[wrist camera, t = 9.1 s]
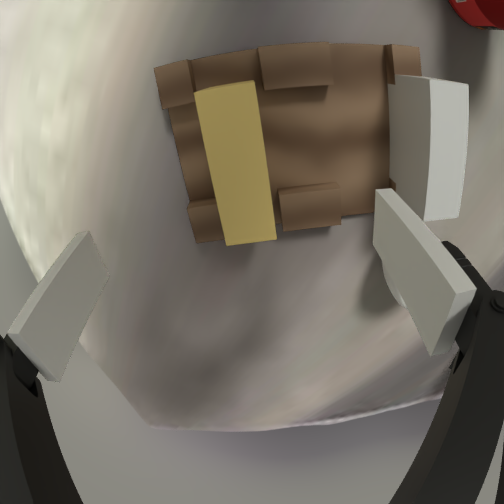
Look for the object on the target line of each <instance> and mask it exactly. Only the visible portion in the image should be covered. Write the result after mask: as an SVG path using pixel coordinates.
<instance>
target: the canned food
mask: <svg viewBox="0 0 504 504" xmlns="http://www.w3.org/2000/svg"><path fill="white" fill-rule="evenodd" d="M449 2H450V4H451V6H452V7H453V9H454V10H455V12H456V13H457V14H458V15H459V16H460V17H461V18H462V19H463V20H464V21H465V22H466V23H468V24H469V25H471V26H473V27H476V28H479V29H489V30H504V0H449Z"/></svg>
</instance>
